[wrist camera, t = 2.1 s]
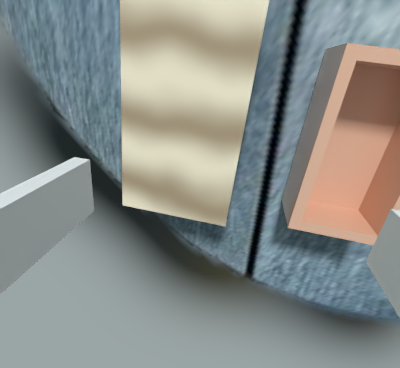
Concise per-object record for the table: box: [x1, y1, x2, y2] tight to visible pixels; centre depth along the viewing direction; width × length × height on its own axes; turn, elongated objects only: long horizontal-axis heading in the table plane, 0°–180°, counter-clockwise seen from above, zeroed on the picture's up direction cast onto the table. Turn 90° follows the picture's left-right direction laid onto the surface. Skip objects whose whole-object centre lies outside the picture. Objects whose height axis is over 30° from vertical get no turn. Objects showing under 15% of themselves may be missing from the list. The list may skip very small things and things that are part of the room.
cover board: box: [120, 0, 269, 226], centre depth 23 cm, size 20×11×2 cm, turn 173°
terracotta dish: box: [282, 43, 400, 245], centre depth 24 cm, size 16×9×6 cm, turn 173°
